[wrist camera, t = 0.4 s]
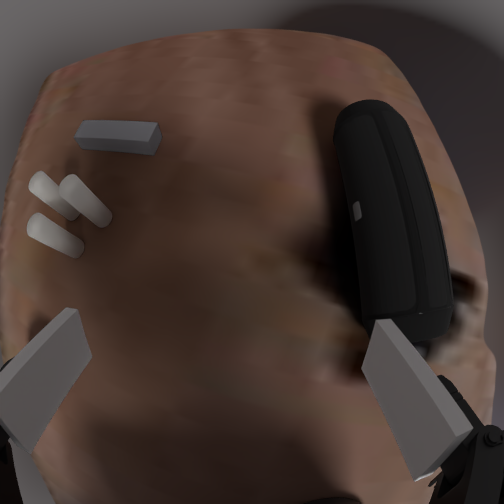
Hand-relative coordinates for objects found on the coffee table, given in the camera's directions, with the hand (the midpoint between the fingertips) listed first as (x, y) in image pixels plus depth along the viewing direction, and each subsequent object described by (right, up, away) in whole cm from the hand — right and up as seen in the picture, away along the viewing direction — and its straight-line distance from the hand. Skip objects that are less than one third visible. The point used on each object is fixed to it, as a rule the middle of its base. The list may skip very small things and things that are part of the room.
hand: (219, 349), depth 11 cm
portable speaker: (+16, +7, +20) cm, 26 cm away
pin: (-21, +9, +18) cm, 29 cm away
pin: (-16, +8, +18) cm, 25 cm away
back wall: (-16, +19, +20) cm, 32 cm away
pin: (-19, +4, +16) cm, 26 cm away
